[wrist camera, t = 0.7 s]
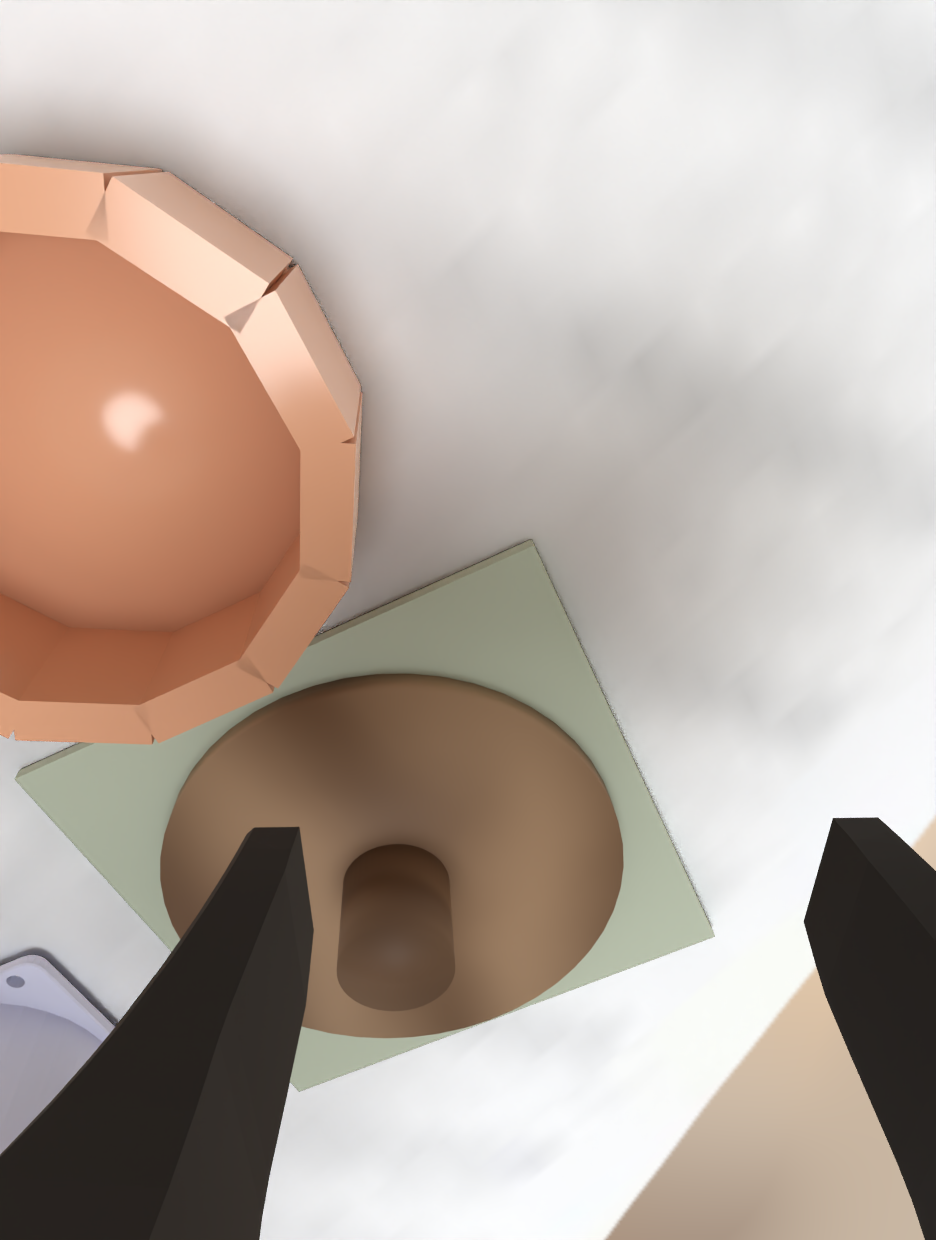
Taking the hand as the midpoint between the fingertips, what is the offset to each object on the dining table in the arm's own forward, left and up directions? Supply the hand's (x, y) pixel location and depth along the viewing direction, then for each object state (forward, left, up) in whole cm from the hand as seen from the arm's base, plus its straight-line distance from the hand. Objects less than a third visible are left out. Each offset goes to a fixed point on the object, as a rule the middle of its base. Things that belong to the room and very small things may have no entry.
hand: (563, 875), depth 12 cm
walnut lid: (-6, -8, -11) cm, 15 cm away
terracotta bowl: (-6, +6, -11) cm, 14 cm away
